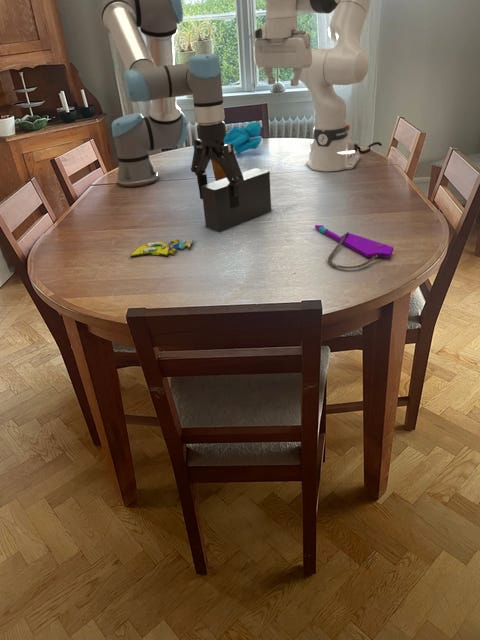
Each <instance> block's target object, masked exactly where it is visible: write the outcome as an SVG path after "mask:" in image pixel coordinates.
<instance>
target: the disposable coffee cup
mask: <svg viewBox="0 0 480 640" xmlns="http://www.w3.org/2000/svg"><path fill="white" fill-rule="evenodd" d="M233 149H234V148H233ZM235 153H236V151H235V150H234V154H235ZM235 155H236V154H235ZM222 157H223V156H222ZM210 163H211V167H212V171H213V176H214V179H215V180H214V181H218V180H221V179H224V178H227V177H226V175H225V173H224V172H223V170H222V168H221V166H220V165H219V163H217V162H216V161H214V160H212V159H210Z"/></svg>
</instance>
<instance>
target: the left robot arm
mask: <svg viewBox="0 0 480 640" xmlns="http://www.w3.org/2000/svg"><path fill="white" fill-rule="evenodd" d="M100 17H101V21H102V24H103V25H104V26H103V27H104V28H105V30H106V31H107V32H108V34H110V35H111V36H112V39H113V41H114V43H115V47H116V48H117V50H118V53H119V55H120V58H121V60H122V63H123V65H124V67H125V69H126V70H125V71H124V72H123V83H124V89H125V93H126V96H127V98H128V100H129V101H130V102H132V103H138V102H143V103H145V102H149V101H151V104H152V105H151V107H150V108H149V109H148V116H143V114H142V113H138V112H137V113H130V114H127V115H123V116H120V117H118V118H116V119H114V120H113V121H112V122H111V132H112V138H113V141H114V146H115V151H116V155H117V160H118V167H117V168H118V170H117V179H116V180H117V183H118V186H120V187H123V188H124V187H125V188H136V187H137V188H138V187H145V186H147V185H148V186H149V185H151V184H154V183H156V182H157V181H158V180H159V176H158V172H157V169H156V167H155V166H154V163H153V161H152V159H151V156H150V151H156V150H162V149H168V148H176V147H178V146H182V145H183V144H185V143H186V141H187V136H188V126H187V124H188V123H187V117H186V115H185V113H184V112H183V111H182V110H181V108H180V107H179V106H178V104H177V97H185V96H191V95H192V100H193V109H194V119H195V122H196V123H197V125H196V133H197V139H194V141H193V145H194V147H193V155H192V161H191V167H190V171H191V173H194V174H195V176H196V180H197V181H196V182H197V186H198V191H199V199H200V200H203V198H202V190H201V186H203V185H206V184H209V183H208V176H207V174H206V173H207V171H206V170H207V168H208V165H209V163H210V162H211V159H212V160H214V161H216V162H217V163H219V165H220V166H221V168H222V170H223V172H224V173H225V175H226V177H227V179H228V181H229V182H230V183H229V184H228V191H229V201H230V208H231V209H233V208H235V207H238V206H239V182H242V181H244V178H243V175H242V170H241V167H240V165H239V161H238V159H237V157H236V154H234V149H233V145H232V144H227V145H225V144H224V138H225V137H226V132H227V127H226V126H227V125H226V123H225V108H224V96H223V94H224V93H223V87H222V86H223V84H222V83H223V82H222V69H221V63H220V58H219V56H218V55H217V53H216V54H215V53H203V54H195V55H191V56H190V57H189V59H188V61H185V62H183V63H176V64H175V49H174V48H175V46H174V37H175V36H176V34H178V25H181V24H182V23H183V21H184V10H183V3H182V0H102V1H101V5H100ZM142 35H143V36H145V40H144V37H143V36H142ZM145 41H146V42H145ZM222 156H223V157H222ZM238 177H239V178H238ZM232 178H233V179H232Z"/></svg>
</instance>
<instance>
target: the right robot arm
mask: <svg viewBox="0 0 480 640" xmlns="http://www.w3.org/2000/svg"><path fill="white" fill-rule="evenodd" d="M371 2H372V1H371V0H264V5H265V17H264V19H265V20H264V24H262V25H261V26H259V27H258V28H257V29H254V30H253V32H252V35H253V39H254V43H253V60H254V65H255V67H256V68H264V73H265V76H266V78H267V84H268V86H269V85H271V86H272V85H275V84H276V76H275V77H274V74H273V71H274V69H292V73H293V77H292V78H291V79H290V86H292V87H298V86H299V82H301V83H302V84H303V85H304V86H305V88H307V89H308V90H307V91H308V92H309V94H310V96H311V99H312V103H313V113H314V114H313V115H314V127H313V129H312V134H313V135H312V139H313V140H312V141H311V142H310V145H309V155H308V157H309V159H308V160H307V161H305V164H306V165H307V166H309V168H310V169H311V170H313V171H316V172H317V171H318V172H337V171H343V170H352V169H354V168H355V166H356V165H357V163H358V162H359V161H360V160H361V156H360V155H358V154H355V153H357V152H358V153H359V154H366V153H369V152H370V151H371V148H372V147H373V146H376V145H377V146H379V147H382V146H383V144H382V143H381V142H380V141H375V142H372V143H370V144H369V145H367V146H366V149H364V150H362V148H361V146H360V145H358V143H354V142H353V141H352V140H351V139H350V138H349V137H348V136H349V135H348V134H349V133H348V131H350V130H351V125H350V124H346V123H347V103H346V101H345V99H344V98H342V97H341V96H339V94H338V93H337V92H336V91H335V88H334V86H349V85H354V84H359V83H361V82H362V81H363V80H364V79H365V77H366V76H367V75H368V72H369V67H370V61H369V57H368V55H367V53H366V52H365V50H364V49H363V48H362V47H361V41H360V40H361V35H362V31H363V28H364V25H365V22H366V20H367V16H368V13H369V9H370V6H371ZM308 14H332V16H331V18H330V21H329V24H328V26H327V27H328V29H327V31H328V36H329V38H330V40H331V41H332V42H333V43H334V44H335V46H334V47H332V48H314V49H312V43H311V34H310V33H309V32H308V31H307V30H306V29H298V15H308Z"/></svg>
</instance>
